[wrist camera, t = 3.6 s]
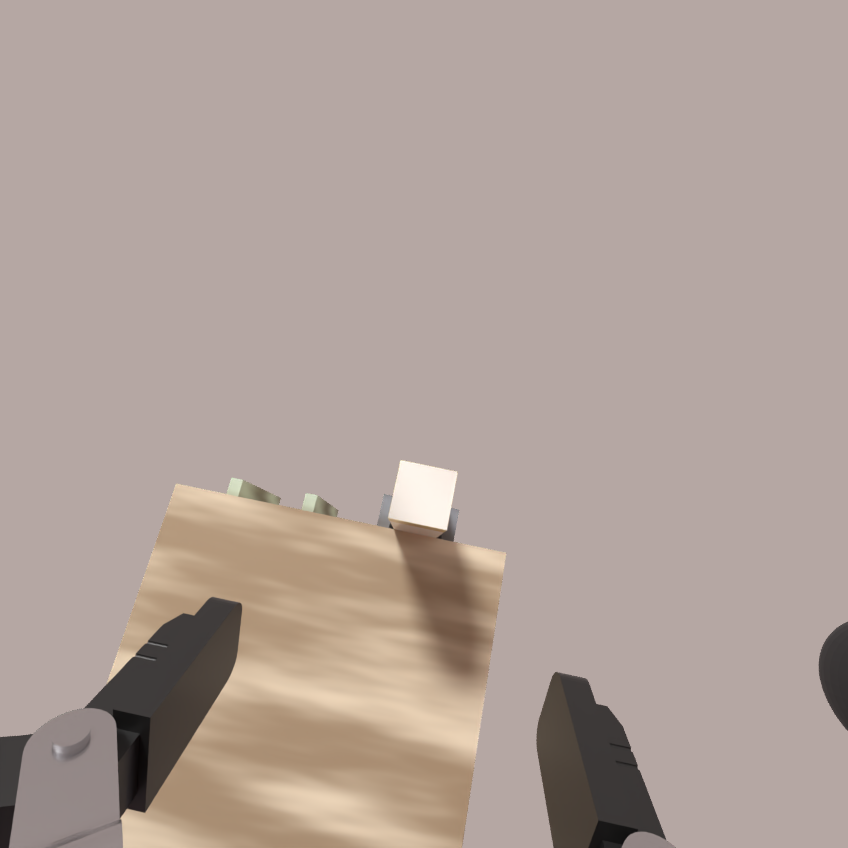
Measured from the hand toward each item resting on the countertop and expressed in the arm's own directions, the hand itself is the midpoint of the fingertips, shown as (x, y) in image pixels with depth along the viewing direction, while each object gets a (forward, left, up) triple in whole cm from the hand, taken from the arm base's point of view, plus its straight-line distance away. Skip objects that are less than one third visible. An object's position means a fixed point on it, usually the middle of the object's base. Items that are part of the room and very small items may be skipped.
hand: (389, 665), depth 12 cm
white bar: (-17, -13, +4) cm, 22 cm away
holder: (-16, -19, -28) cm, 37 cm away
